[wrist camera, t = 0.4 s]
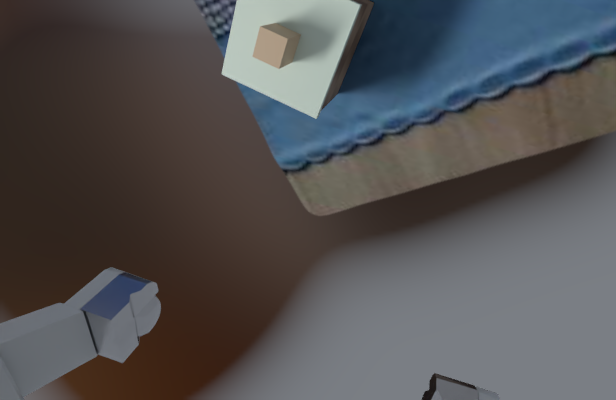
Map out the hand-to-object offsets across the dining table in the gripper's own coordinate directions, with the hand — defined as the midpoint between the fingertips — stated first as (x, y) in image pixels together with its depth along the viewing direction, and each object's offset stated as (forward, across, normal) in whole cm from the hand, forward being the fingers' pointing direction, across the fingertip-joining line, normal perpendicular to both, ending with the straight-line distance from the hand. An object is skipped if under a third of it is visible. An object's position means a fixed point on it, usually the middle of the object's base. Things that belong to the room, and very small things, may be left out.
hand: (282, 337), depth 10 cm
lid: (+34, +13, -2) cm, 37 cm away
